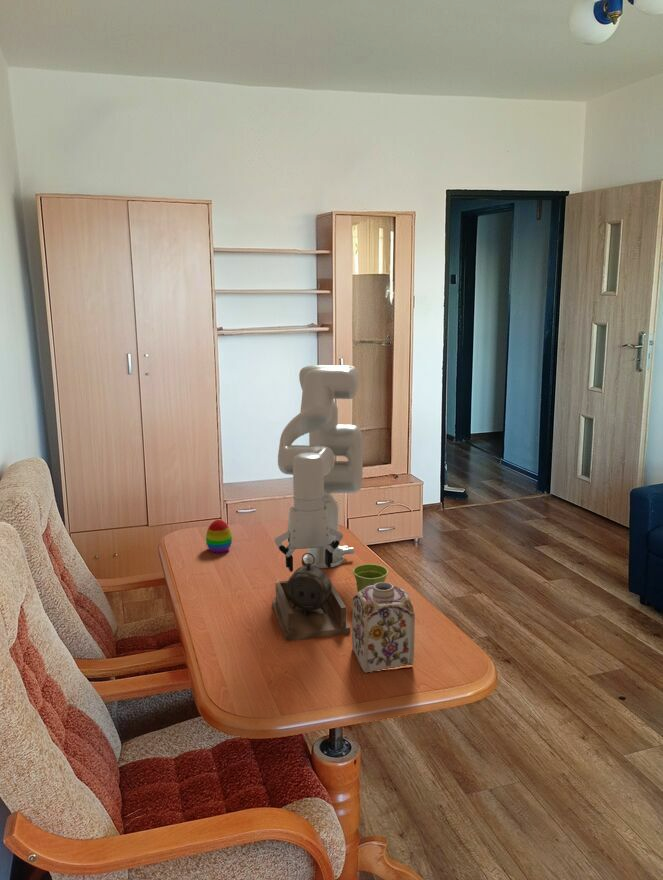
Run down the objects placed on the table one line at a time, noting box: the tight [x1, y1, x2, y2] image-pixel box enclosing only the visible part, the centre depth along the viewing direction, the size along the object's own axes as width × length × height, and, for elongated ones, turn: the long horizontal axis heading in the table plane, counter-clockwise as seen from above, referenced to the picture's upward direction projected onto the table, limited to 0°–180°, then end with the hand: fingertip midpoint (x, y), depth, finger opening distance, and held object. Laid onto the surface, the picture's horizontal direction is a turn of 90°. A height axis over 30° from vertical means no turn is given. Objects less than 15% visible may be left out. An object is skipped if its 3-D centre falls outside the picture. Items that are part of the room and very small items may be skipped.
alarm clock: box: [287, 552, 332, 616], centre depth 182 cm, size 11×5×16 cm, turn 71°
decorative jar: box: [351, 581, 416, 674], centre depth 163 cm, size 12×12×18 cm
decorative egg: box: [205, 519, 233, 554], centre depth 229 cm, size 8×8×10 cm
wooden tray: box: [271, 578, 351, 642], centre depth 183 cm, size 16×20×6 cm
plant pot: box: [352, 563, 389, 593], centre depth 193 cm, size 9×9×9 cm
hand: (309, 567), depth 181 cm, fingers open, 9 cm apart
